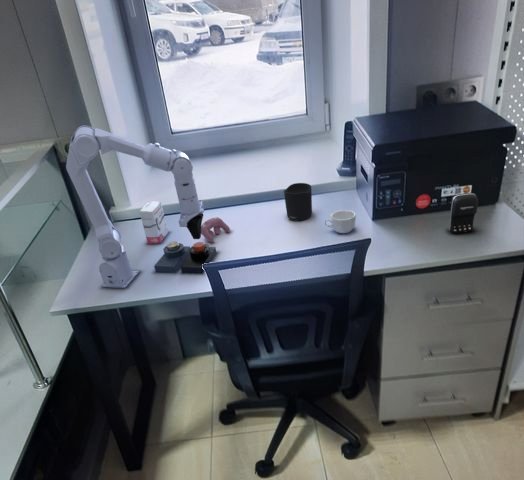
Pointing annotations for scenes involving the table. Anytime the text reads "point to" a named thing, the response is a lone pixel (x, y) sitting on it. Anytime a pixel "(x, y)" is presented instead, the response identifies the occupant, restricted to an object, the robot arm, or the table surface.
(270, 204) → the table surface
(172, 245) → the left button
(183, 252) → the left box
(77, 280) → the table surface
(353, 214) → the teacup
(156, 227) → the ink box
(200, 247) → the right button
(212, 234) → the pink curved piece
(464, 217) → the battery charger
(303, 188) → the pen holder
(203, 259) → the right box
